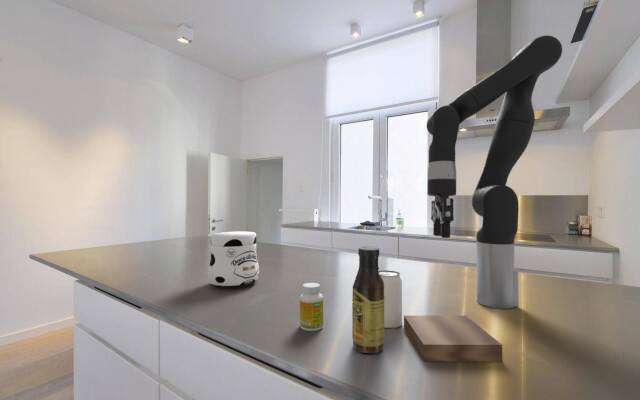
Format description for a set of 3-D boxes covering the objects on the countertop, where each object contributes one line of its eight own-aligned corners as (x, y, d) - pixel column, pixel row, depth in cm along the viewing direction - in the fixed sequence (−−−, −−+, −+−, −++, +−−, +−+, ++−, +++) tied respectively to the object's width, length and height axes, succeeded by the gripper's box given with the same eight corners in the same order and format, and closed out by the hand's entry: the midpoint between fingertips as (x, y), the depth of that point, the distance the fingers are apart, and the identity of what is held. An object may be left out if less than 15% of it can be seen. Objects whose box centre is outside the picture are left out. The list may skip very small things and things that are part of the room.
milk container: (252, 291, 98) (252, 236, 98) (199, 292, 98) (199, 236, 98) (263, 278, 115) (263, 231, 115) (218, 278, 115) (218, 231, 115)
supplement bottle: (315, 333, 66) (314, 289, 66) (295, 328, 69) (295, 285, 69) (327, 325, 71) (327, 283, 71) (308, 320, 74) (308, 280, 74)
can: (403, 330, 68) (402, 276, 68) (373, 328, 69) (373, 275, 69) (401, 319, 74) (400, 270, 74) (374, 317, 75) (374, 269, 76)
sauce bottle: (349, 341, 63) (349, 245, 63) (379, 339, 63) (378, 244, 63) (356, 357, 56) (355, 250, 56) (389, 355, 57) (388, 249, 57)
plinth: (466, 328, 68) (466, 315, 68) (502, 361, 54) (502, 344, 54) (403, 328, 69) (403, 315, 69) (424, 361, 55) (423, 344, 55)
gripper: (464, 175, 78) (464, 239, 77) (448, 181, 92) (448, 235, 91) (433, 175, 79) (433, 238, 78) (422, 181, 93) (422, 234, 92)
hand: (441, 236), depth 84 cm, fingers open, 8 cm apart
